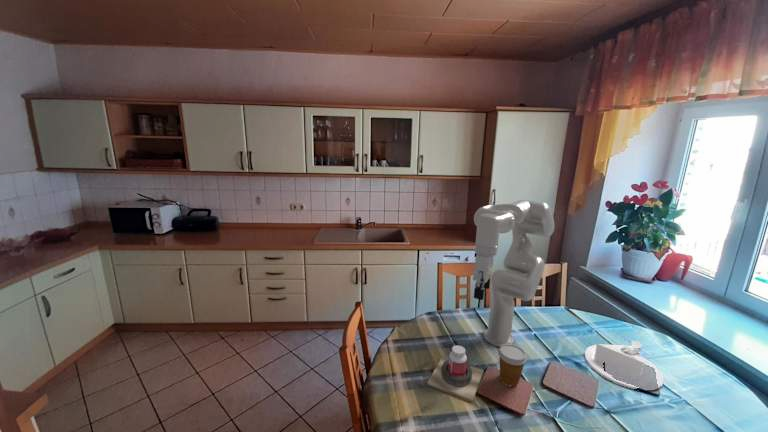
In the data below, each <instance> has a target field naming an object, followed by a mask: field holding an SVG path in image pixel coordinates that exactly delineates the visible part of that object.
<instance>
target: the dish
mask: <svg viewBox="0 0 768 432" xmlns="http://www.w3.org/2000/svg"><path fill="white" fill-rule="evenodd" d="M630 343H631V344H630V345H623V344H622V345H621V344H607V343H606V344H603V343H597V344H593V345H590V346H587V348H586V349H585V351H584V359H585V362H586V363H587V364H588V366H589V367H590V368H591V369H592V370H593V371H595V373H597V375H600V376H601V377H603V378H604V379H606V380H608V381H610V382H611V381H612V383H614V384H616V385H618V386H621V387H623V386H624V387H623V388H626V387H628V388H627V389H629V388H631V389H630V390H634V389H637V388H639V387H636V386H634V385H631V384H627V383H625V382H622V381H619V380H616V379H614V378H613V377H612V375H610V374H608V373H607V372H605V371H604V368H603V367H604V365H603V363H604V362H607V363H610V364H613V365H615V366H618V367H621V368H622V369H625V370H627V371H629V372H631V373H634V374H636V375H638V376H641V374H642V370H643V366H644V364H646V365H649V366H650V367H653V368H654V369H655V372H656V379H657V384H658V387H660V388H659V389H661V388H663V385H664V381H665V377H664V376H663V373H662V372H661V370H660V369H659V368H657V366H656V365H655V364H653V363H652V362H651V361H649V360H647V359H646V358H644V357H643V356H642V355H641V354H640V350H643V349H644V348H643V347H644V346H642V343H640V342H639V341H636V340H632V341H631V342H630Z"/></svg>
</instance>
